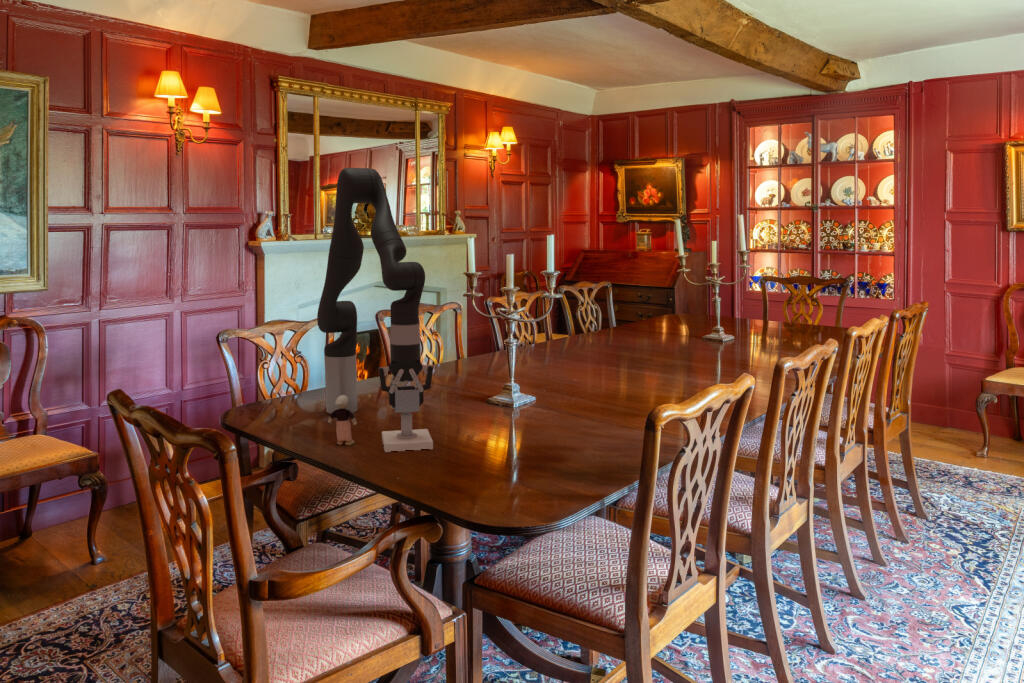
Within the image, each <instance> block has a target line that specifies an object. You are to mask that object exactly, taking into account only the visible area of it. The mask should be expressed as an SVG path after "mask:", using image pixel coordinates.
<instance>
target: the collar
mask: <svg viewBox="0 0 1024 683" xmlns="http://www.w3.org/2000/svg"><path fill="white" fill-rule="evenodd" d="M394 393H395V408H393V409H394V412H395V413H405V412H409V413H413V412H414V413H415V412H420V406H419V389H418V388H417V386H416V384H415V385H397V386H396V388H395V390H394Z"/></svg>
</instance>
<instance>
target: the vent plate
mask: <svg viewBox="0 0 1024 683" xmlns="http://www.w3.org/2000/svg"><path fill="white" fill-rule="evenodd" d="M400 428H401V429H400V430H385V431H381V441H382V446H383V445H384V446H383V451H384V453H392V452H391V451H398V452H406V451H405V450H414V451H422V450H421V449H430V450H434V440H433V439H432V436H431V434H430V432H429V429H428V428H421V429H420V428H418V429H413V412H400Z"/></svg>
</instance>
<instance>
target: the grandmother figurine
mask: <svg viewBox="0 0 1024 683" xmlns="http://www.w3.org/2000/svg"><path fill="white" fill-rule="evenodd" d="M335 404H336V405H337V406H338V407H339V408H340V409H337V410H335V411H333V412H332V413H331V414H330V413H329V417H328V420H327V423H328V424H332V422H333V420H335V419H336V422H335V423H336V427H335V428H336V440H337V443H336V445H337V444H338V445H340V446H341V445H344V444H345V445H346V446H351V445H354V444H355V440H354V439H353V438H352V428H351V422H352V425H354V426H357V424H358V422H357V420H356V417H355V414H354V412H353V413H352V412H351V411H350V410H347V409H345V408H346V407H347V405H348V397H347V396H345V395H341V396H339V397H338V398H337V400H336V403H335ZM350 420H351V421H350ZM338 445H337V446H338Z"/></svg>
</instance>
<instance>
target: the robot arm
mask: <svg viewBox="0 0 1024 683" xmlns="http://www.w3.org/2000/svg"><path fill="white" fill-rule="evenodd" d="M386 191H387V190H386V188H385V184H384V182H383V179H382V177H381V175H380V173H379V172H378V171H377V169H374V168H369V167H345V168H343V169H341V170H340V172H339V174H338V178H337V183H336V192H335V193H336V194H335V195H336V196H335V209H334V210H335V211H334V219H333V220H334V221H333V228H332V233H331V240H330V243H329V249H328V255H327V256H328V257H327V265H326V273H325V279H324V286H323V287H322V292H321V296H320V300H319V304H318V309H317V316H316V319H317V320H316V322H317V327H318V329H319V331H321V332H322V333H324V334H334V333H335V334H336V333H340V335H339V337H338V338H336V339H335V340H334V341H332V342H329V343H328V344H326V345H325V346H324V347H323V348H324V349H323V351H324V352H323V354H324V355H323V357H324V379H325V380H324V381H325V384H324V385H325V410H326V411H325V412H326V413H328V414H329V415H330V414H331V413H332V412H333V411H335V410H337V409H340V408H339V407H338V406H337V405H336V404H335V403H336V400H337V398H338V397H339V396H341V395H345V396H347V397H348V405H347V407H346V408H345V409H347V410H350V411H351V412H352V413H353V414H354V413H355V412H357V411H358V379H357V378H358V377H357V376H358V375H357V371H358V370H357V344H358V342H357V341H358V340H357V339H358V337H357V336H358V312H357V307H356V305H355V303H354V302H353V301H352V300H338V299H339V296H340V294H341V293H342V291H343V290H344V289H345V288H346V286H348V284H350V283H351V281H352V280H353V279H354V278H355V276H356V275H357V274H358V273H359V271H360V270H361V265H362V262H363V255H364V250H365V249H364V248H365V247H364V243H363V242H364V241H363V240H362V237H361V234H360V233H359V231H358V230H357V228H356V226H355V223H354V220H353V213H352V212H353V207H354V204H371V206H372V207H373V209H374V211H375V212H374V217H373V221H372V224H371V228H370V237H371V240H372V244H373V246H374V248H375V250H376V252H377V254H378V256H379V260H380V261H379V262H380V268H381V279H382V283H383V285H384V286H385V287H386V289H388V290H390V291H393V292H397V291H398V292H399V291H400V292H401V291H405V293H404V296H403V297H402V298H400V299H396V300H394V301H392V302H391V304H390V307H389V308H390V330H389V343H390V344H389V348H390V353H389V354H390V355H389V356H390V357H389V359H390V360H389V362H390V363H389V365H388V366H379V367H378V368H377V369H378V375H379V381H380V388H381V390H382V392H387V393H388V403H389V404H388V405H389V406H391V407H392V408H393V409H394V408H395V393H394V390H395V388H396V386H399V385H398V384H399V382H400V383H401V382H406V381H407V382H414V384H415V385H416V386H417V388H418V389H419V407H421V406H422V405H423V404H424V402H425V401H424V397H425V396H424V392H425V391H427V390H430V389H431V386H432V378H433V371H434V368H433V366H432V365H431V364H428V365H427V364H426V365H424V364H422V362H421V361H422V360H421V331H420V322H419V321H420V316H419V315H420V314H419V313H420V312H419V308H420V303H421V298H422V295H423V290H424V288H425V283H426V272H425V269H424V267H423V265H422V264H421V263H419V262H418V261H403V260H404V259H405V257H406V256H407V248H406V246H405V243H404V241H403V239H402V236H401V235H400V232H399V230H398V228H397V226H396V224H395V220H394V217H393V214H392V210H391V206H390V202H389V199H388V195H387V192H386ZM422 370H423V373H424V374H425V381H424V383H423V384H422V383H421V381H420V380H419V378H418V376H419V374H420V373H421V372H422ZM388 372H390V374H392V376H393V377H392V380H391V382H390V384H389V386H388V385H387V384H386V383H387V382H386V377H385V376H387V375H388Z"/></svg>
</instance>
